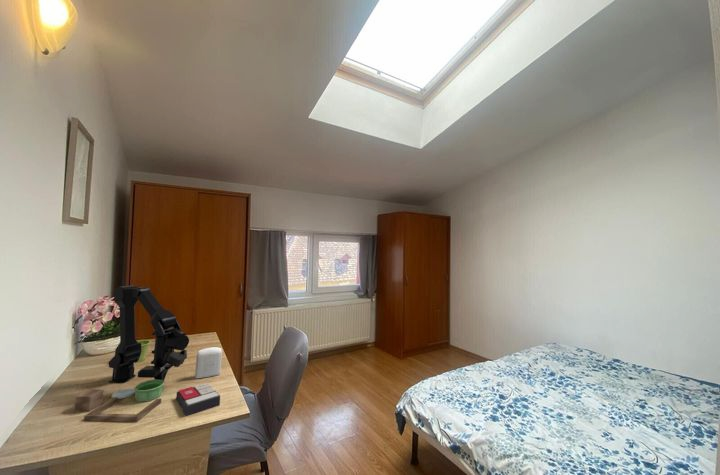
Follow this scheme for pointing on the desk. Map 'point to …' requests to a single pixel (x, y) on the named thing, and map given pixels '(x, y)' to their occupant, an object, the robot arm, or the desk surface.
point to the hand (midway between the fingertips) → (160, 385)
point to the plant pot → (143, 349)
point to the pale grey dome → (123, 393)
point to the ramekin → (148, 390)
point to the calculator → (197, 398)
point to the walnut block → (89, 400)
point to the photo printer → (208, 362)
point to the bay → (99, 416)
